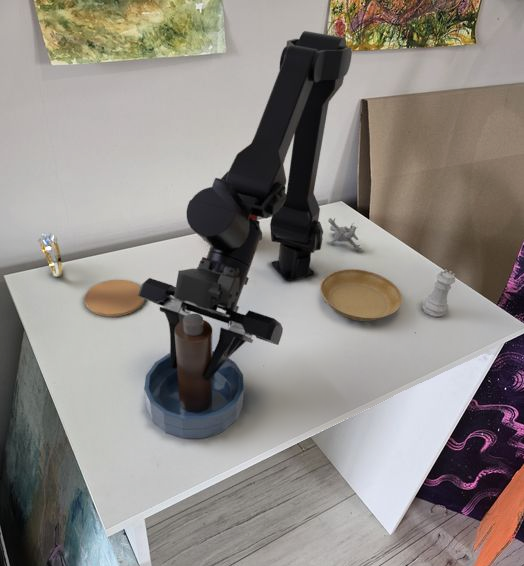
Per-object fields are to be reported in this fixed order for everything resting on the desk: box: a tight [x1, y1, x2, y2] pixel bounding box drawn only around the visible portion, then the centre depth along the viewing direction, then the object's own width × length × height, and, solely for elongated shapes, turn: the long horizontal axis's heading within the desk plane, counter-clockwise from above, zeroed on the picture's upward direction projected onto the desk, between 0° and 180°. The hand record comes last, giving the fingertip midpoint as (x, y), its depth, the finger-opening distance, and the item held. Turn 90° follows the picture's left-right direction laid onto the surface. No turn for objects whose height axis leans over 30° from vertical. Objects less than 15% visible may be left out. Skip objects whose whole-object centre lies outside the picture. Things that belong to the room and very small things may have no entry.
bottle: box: [175, 312, 213, 412], centre depth 64 cm, size 5×5×15 cm
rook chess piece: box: [421, 269, 456, 318], centre depth 87 cm, size 4×4×8 cm
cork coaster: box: [84, 279, 145, 318], centre depth 85 cm, size 10×10×1 cm
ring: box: [36, 232, 63, 278], centre depth 87 cm, size 7×3×8 cm, turn 32°
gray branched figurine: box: [327, 217, 362, 253], centre depth 104 cm, size 10×6×9 cm
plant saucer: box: [319, 268, 403, 322], centre depth 89 cm, size 15×15×3 cm
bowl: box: [143, 350, 245, 439], centre depth 68 cm, size 13×13×4 cm
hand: (189, 373), depth 64 cm, fingers closed on bottle, 4 cm apart
